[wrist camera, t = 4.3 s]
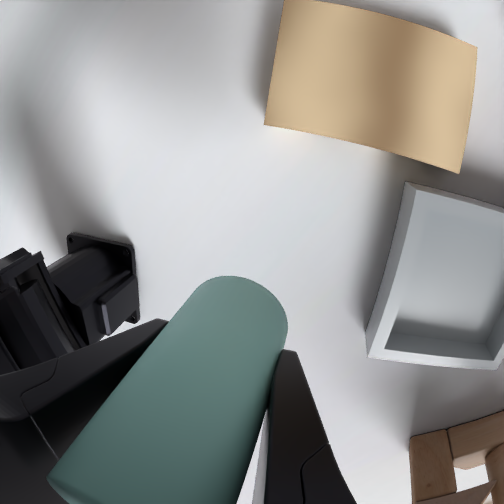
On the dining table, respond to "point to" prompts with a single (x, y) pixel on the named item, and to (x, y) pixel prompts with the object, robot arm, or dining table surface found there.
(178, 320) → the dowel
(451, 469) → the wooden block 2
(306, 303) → the dining table surface
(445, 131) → the board
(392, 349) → the tray
